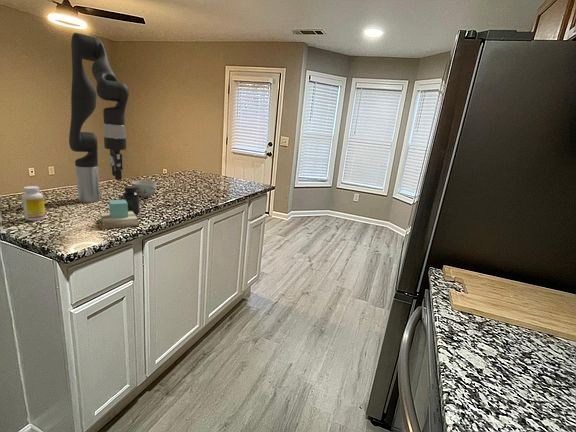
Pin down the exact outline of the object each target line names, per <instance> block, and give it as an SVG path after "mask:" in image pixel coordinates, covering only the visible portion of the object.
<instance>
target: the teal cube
mask: <svg viewBox="0 0 576 432" xmlns="http://www.w3.org/2000/svg"><path fill="white" fill-rule="evenodd" d="M108 205H109V206H108V207H109V208H108V209H109V212H110V216H111V218H126V217H128V203H127V202H126V200H123V199H116V200H115V199H113V200H111V199H110V200H108Z"/></svg>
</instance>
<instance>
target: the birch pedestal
mask: <svg viewBox="0 0 576 432" xmlns="http://www.w3.org/2000/svg"><path fill="white" fill-rule="evenodd" d="M100 220H101V222H102V226H103V228H104V229H116V228H127V227H137V226H139V225H138V220H139V219H138V217H137V216H136V214H134V213H133V211H128V217H126V218H111V216H110V211H109V212H100Z"/></svg>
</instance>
